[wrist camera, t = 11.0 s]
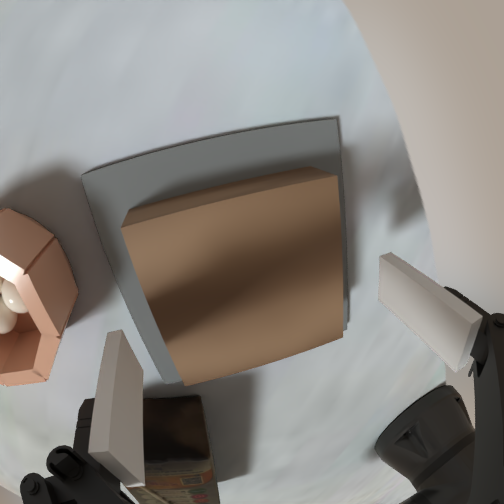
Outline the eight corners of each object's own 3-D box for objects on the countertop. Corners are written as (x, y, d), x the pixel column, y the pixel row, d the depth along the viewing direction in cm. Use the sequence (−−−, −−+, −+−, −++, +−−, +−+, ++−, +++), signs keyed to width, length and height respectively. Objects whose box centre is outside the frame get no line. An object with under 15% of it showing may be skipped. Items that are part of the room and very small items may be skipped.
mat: (343, 324, 23) (347, 329, 22) (165, 378, 21) (165, 384, 20) (331, 118, 16) (336, 118, 16) (83, 173, 14) (80, 175, 14)
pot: (97, 322, 18) (84, 375, 13) (2, 344, 16) (-19, 388, 12) (44, 190, 14) (5, 216, 9) (-51, 235, 12) (-91, 266, 8)
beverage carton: (151, 487, 28) (157, 532, 22) (102, 393, 20) (96, 463, 14) (215, 482, 30) (226, 526, 24) (201, 387, 22) (216, 457, 16)
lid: (322, 311, 21) (342, 337, 18) (181, 353, 19) (185, 386, 17) (310, 166, 17) (337, 175, 14) (128, 209, 15) (120, 228, 12)
